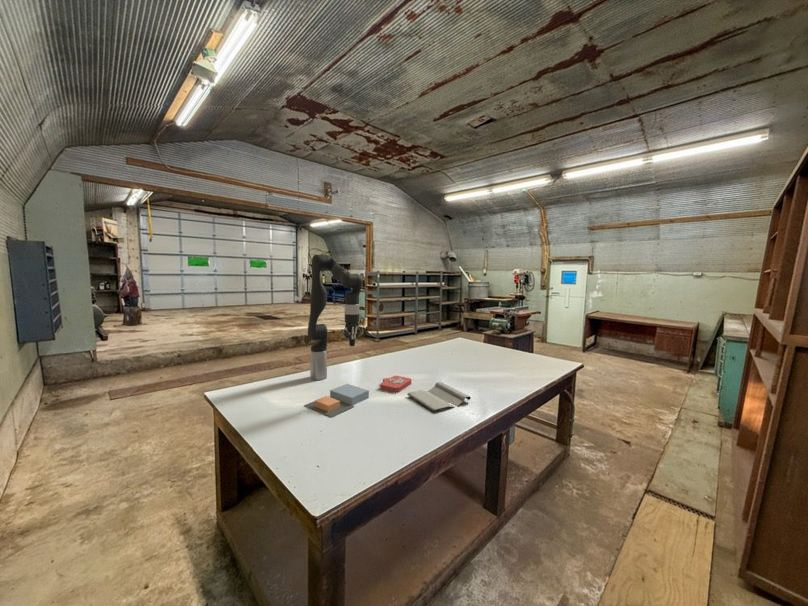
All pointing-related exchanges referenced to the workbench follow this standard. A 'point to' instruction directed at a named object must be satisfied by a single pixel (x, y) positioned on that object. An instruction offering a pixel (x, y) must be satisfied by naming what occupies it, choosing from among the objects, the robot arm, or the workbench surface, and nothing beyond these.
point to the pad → (334, 412)
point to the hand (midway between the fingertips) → (352, 345)
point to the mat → (439, 397)
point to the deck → (349, 394)
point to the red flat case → (395, 384)
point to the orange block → (327, 403)
